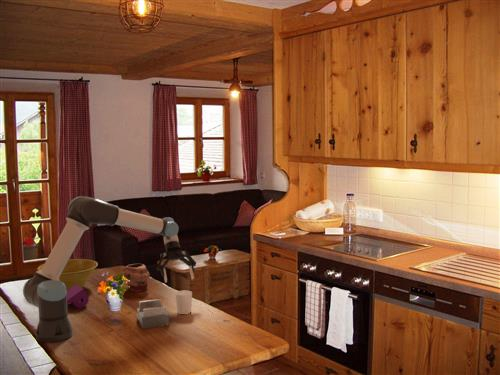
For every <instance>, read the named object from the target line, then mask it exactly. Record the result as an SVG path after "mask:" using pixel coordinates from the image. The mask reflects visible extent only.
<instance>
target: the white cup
mask: <svg viewBox="0 0 500 375" xmlns="http://www.w3.org/2000/svg"><path fill="white" fill-rule="evenodd" d="M192 298H193V292H192V291H191V290H183V289H182V290H178V291H176V292H175V304H176V312H178V313H179V314H178V313H177V314H178V315H180V314H187V313H190V312H191V313H192V306H193V305H192V303H193V299H192ZM191 313H190V314H191ZM187 315H188V314H187Z"/></svg>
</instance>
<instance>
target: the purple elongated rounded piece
mask: <svg viewBox="0 0 500 375" xmlns="http://www.w3.org/2000/svg"><path fill="white" fill-rule="evenodd" d="M89 300H90V299H89V295H88V294H87V292H86V290H85V288H84V287H80V286H78V285H75V286H73V287H72V288H70V289H69V290H68V291H67V306H68V305H69V304H70V305H73V306H74V307H75V308H78V309H81V308H85V307H86V306H87V304H88V303H89Z"/></svg>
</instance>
